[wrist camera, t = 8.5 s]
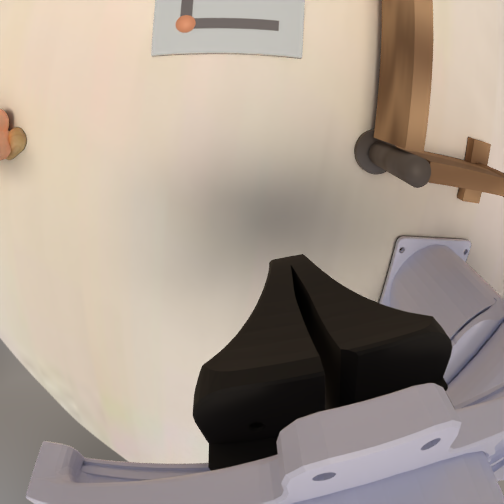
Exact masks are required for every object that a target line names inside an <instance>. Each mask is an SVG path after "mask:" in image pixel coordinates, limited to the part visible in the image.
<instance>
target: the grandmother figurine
mask: <svg viewBox="0 0 504 504" xmlns="http://www.w3.org/2000/svg"><path fill="white" fill-rule="evenodd" d="M8 127H9V118H8V116H7V114H6V112H5V111H4V110H2V109H0V160H3V159H7V160H11V159H13V158H14V157H15V156H17V155H18V154H19V153H20V152H21V151H22V150H23V149H24V148H25V145H26V136H25V134H24V132H23V130H22V129H21V128H18V127H15V128H13V129H12V130H11V131H8Z"/></svg>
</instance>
